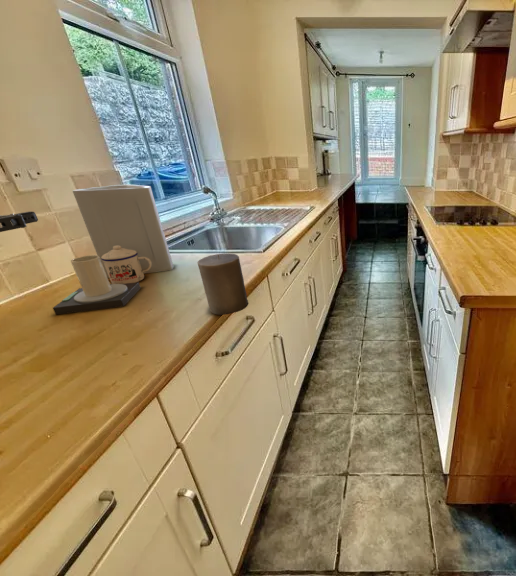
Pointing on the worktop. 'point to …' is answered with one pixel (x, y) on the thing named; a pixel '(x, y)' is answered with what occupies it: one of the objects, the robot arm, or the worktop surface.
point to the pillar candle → (223, 283)
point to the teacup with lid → (124, 265)
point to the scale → (97, 299)
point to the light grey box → (125, 223)
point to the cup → (91, 275)
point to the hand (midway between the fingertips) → (16, 216)
